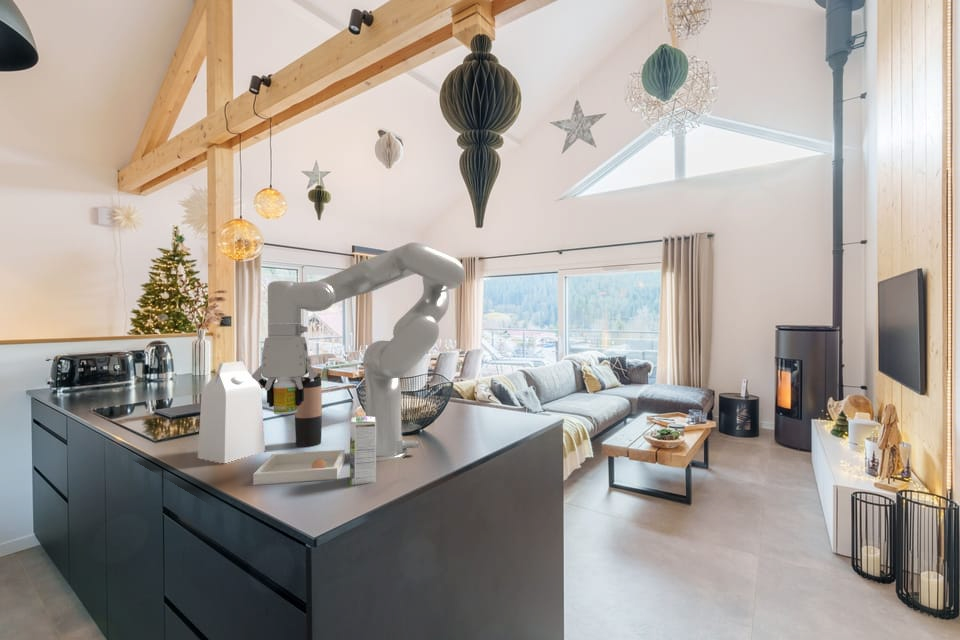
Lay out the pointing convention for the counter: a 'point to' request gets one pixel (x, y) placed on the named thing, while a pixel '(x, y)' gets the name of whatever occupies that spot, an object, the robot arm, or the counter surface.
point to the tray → (299, 467)
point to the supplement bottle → (285, 396)
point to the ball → (318, 464)
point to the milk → (231, 415)
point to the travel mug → (309, 415)
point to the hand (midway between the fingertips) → (285, 404)
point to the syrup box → (363, 450)
